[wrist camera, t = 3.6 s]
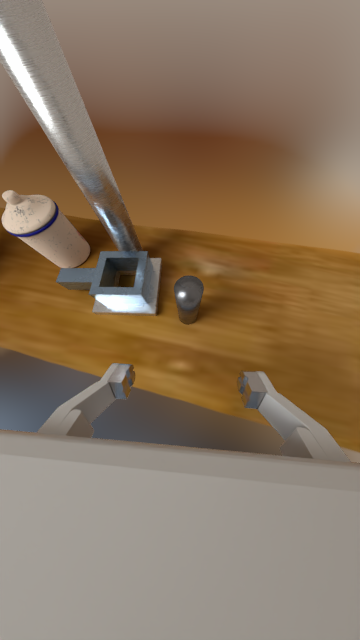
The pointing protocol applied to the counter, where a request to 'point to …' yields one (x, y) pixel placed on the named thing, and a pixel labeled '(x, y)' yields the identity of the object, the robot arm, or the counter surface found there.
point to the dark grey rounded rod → (188, 298)
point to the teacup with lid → (44, 229)
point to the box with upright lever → (77, 159)
